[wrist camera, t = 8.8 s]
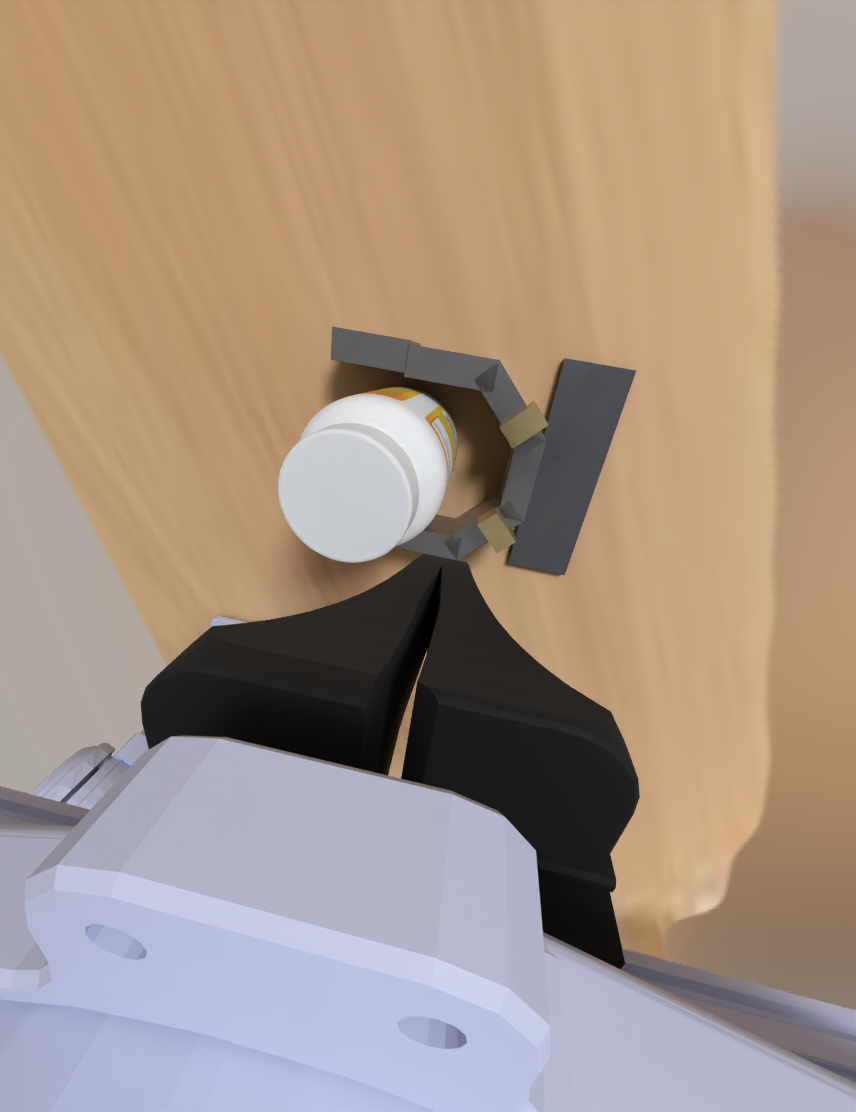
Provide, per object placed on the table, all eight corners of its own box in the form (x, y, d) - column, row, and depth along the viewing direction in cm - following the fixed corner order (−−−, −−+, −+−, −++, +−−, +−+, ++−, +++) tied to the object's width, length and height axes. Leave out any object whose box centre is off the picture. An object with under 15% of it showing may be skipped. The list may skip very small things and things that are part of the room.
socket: (563, 571, 22) (575, 605, 19) (339, 525, 23) (314, 550, 19) (633, 370, 17) (663, 370, 14) (352, 322, 18) (323, 312, 15)
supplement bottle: (334, 455, 21) (224, 518, 12) (388, 360, 19) (302, 354, 10) (418, 515, 22) (373, 615, 13) (480, 431, 19) (476, 483, 11)
